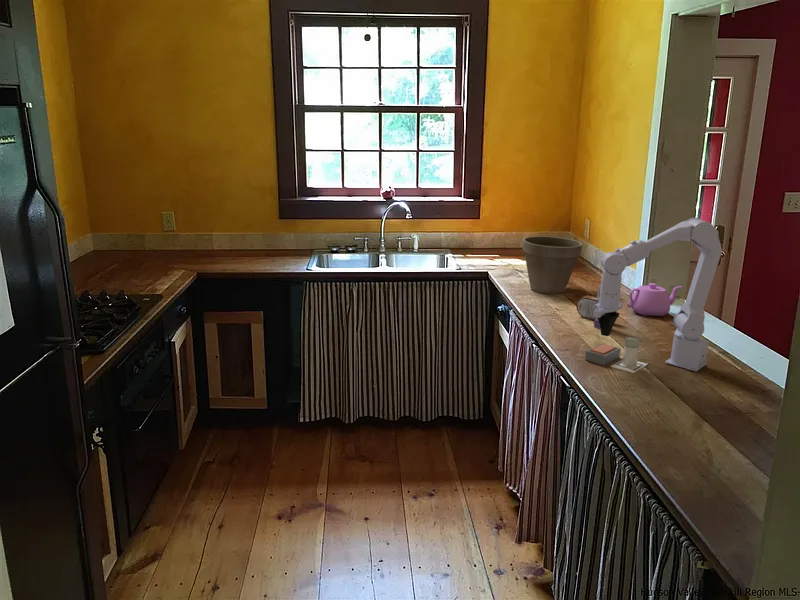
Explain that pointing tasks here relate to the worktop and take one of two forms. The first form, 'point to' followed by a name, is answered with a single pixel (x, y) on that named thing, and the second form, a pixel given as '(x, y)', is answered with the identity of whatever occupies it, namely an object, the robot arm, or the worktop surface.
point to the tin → (587, 306)
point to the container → (596, 321)
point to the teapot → (651, 300)
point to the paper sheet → (630, 369)
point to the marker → (630, 352)
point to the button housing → (602, 356)
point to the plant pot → (550, 262)
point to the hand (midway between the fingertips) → (605, 335)
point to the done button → (603, 349)
